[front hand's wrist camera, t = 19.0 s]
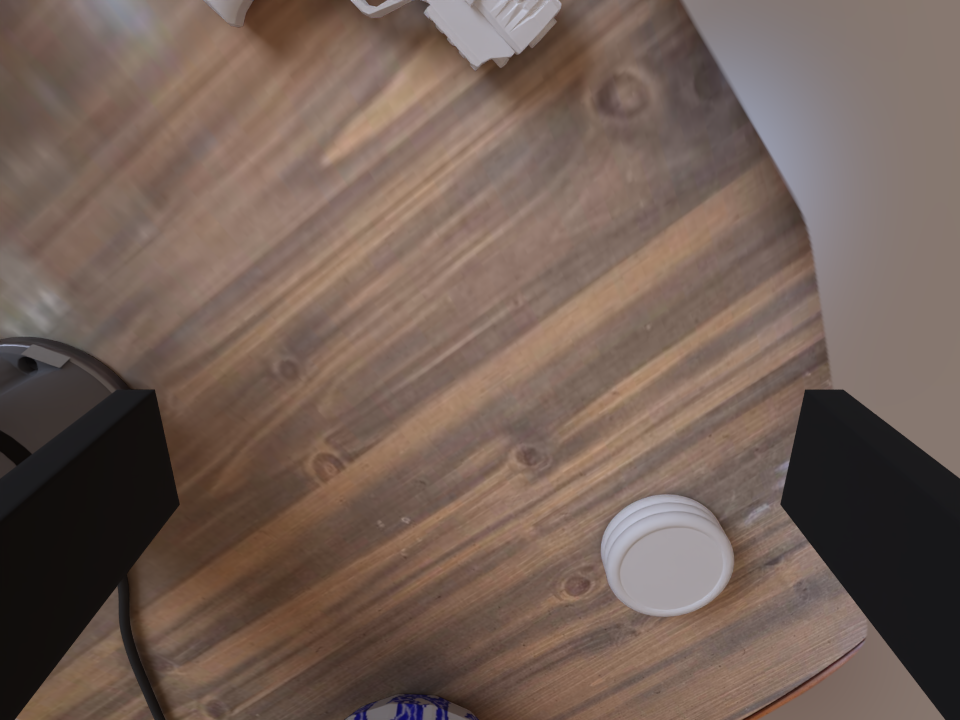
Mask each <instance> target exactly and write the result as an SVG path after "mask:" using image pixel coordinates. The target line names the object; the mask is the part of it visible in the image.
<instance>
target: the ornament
mask: <svg viewBox="0 0 960 720" xmlns="http://www.w3.org/2000/svg"><path fill="white" fill-rule="evenodd" d="M345 720H479V719H478V718H477V717H476V716H475V715H474V714H473V713H472V712H471V711H470V710H467V709H465V708H463V707H461V706H458V705H456V704H454V703H452V702H449V701H447V700H445V699H443V698H440V697H438V696H436V695H416V694H396V695H394V696H391V697H388V698H385V699H382V700H379V701H376V702H373V703H370V704H367V705H364V706H361V707H360V708H359V709H358V710H356V711H355V712H354V713H352V714H351V715H350V716H349V717H347V718H346V719H345Z"/></svg>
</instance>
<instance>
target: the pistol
mask: <svg viewBox="0 0 960 720" xmlns="http://www.w3.org/2000/svg"><path fill="white" fill-rule="evenodd" d="M203 1H204V2H205V3H207V4H208V5H209V6H210V7H211V8H212V9H213V10H214V11H215V12H216V13H217V14H218V15H220V16H221V17H222V18H223V19H224V20H225V21H226V22H227V23H228V24H229V25H230V26H234V27H238V28H239V27H243V25H244V20H245V15H246V12H247V10H248V9H249V7H250V5H251V4H252V2H253V1H254V0H203ZM351 1H352V2H353V4H354V5H355V6H356V7H357V8H358V9H359V10H360V11H361V12H362V13H363V14H365V15H366V16H368V17H370V18H381V17H383V16H385V15H387V14H389V13H391V12H393V11H394V10H396V9H398V8H400V7H402V6H404V5H405V4H407V3H409V2H411V1H413V0H387V1H385V2H384V3H382V4H380V5H379V6H377V7H376V6H371V5H369V4H368V3H367V2H366V0H351ZM422 1H424V2H426V3H428V4H430V5H429V6H428V7H427V8H426V10H425V12H424V14H425V15H426V16H427V17H428V19H430V20H431V21H432V20H433V21H434V23H435V24H436V28H437V29H438V30H439V31H440V32H441V33H442V34H443V33H444V34H445V35H446V36H447V37H448V38H447V40H448V41H449V42H450V43H451V45H453V46H454V45H455V46H456V47H457V49H458V50H459V54H460V55H461V56H462V57H463V58H464V59H465V58H466V59H467V60H468V61H469V62H470V63H471V64H470V66H471V67H472V68H473V69H474V70H475V71H476V70H477V69H478V68H479V67H480V66H481V65H482V64H484V63H485V62H487V61H489V60H491V59H492V60H493V61H494V62H495V63H496V64H497V65H498V66H499V67H500V68H502V67H503V66H505V65H506V63H507V62H508V60H509V58H511V57H512V56H513V55H514V53H515V54H516V55H518V54H520V53H521V52H522V51H523V50H524V49H525V48H526V47H527V46H528V45H529V46H530V47H531V48H533V47H534V46H535V45H536V44H537V43H538V42H539V41H540V40H541V39H542V38H543V37H544V36H545V35H546V33H547V32H548V31H549V30H550V29H551V28H552V27H553V26H554V25H555V23H556V22H557V21H556V20H555V18H554V17H555V16H556V15H557V14H558V12H559V11H560V9H561V2H560V1H559V0H422Z"/></svg>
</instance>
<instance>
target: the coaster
mask: <svg viewBox="0 0 960 720" xmlns="http://www.w3.org/2000/svg"><path fill="white" fill-rule="evenodd" d="M601 558H602V562H603V565H604V569H605V572H606V576H607V580H608V583H609V585H610V587H611V589H612V591H613V592H614V594H615V595H616V596H617V598H618V599H619V600H620V601H621V602H622V603H624V604H625V605H626V606H628V607H629V608H631V609H633V610H635V611H637V612H640V613H642V614H646V615H651V616H657V617H671V616H678V615H683V614H687V613H690V612H693V611H695V610H697V609H700V608H702V607H703V606H705V605H707V604H708V603H710V602H711V601H712V600H714V599H715V598H716V597H717V596H718V595H719V594H720V593H721V592H722V591H723V590H724V588H725V587H726V585H727V584H728V582H729V580H730V578H731V576H732V572H733V568H734V553H733V548H732V545H731V543H730V540H729V539H728V537H727V535H726V534H725V532H724V530H723V528H722V527H721V525H720V523H719V521H718V520H717V518H716V517H715V516H714V514H713V513H712V512H711V511H710V510H709V509H707V508H706V507H705V506H704V505H702V504H700V503H699V502H697V501H695V500H693V499H691V498H688V497H684V496H679V495H671V494H663V495H654V496H649V497H646V498H643V499H640V500H638V501H635V502H633V503H632V504H630V505H628V506H627V507H625V508H624V509H622V510H621V511H620V512H619V513H618V514H617V515H616V516H615V517H614V518H613V519H612V520H611V522H610V523H609V524H608V526H607V528H606V530H605V532H604V535H603V538H602V543H601Z"/></svg>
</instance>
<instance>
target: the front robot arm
mask: <svg viewBox="0 0 960 720" xmlns="http://www.w3.org/2000/svg"><path fill="white" fill-rule="evenodd" d="M179 505H180V504H179V499H178V495H177V490H176V485H175V481H174V476H173V472H172V467H171V462H170V458H169V453H168V448H167V444H166V439H165V435H164V430H163V425H162V421H161V416H160V411H159V407H158V402H157V398H156V393H155V390H130V389H129V388H128V386H127V385H126V384H125V383H124V382H123V381H122V380H121V379H120V378H119V377H118V376H117V375H116V374H115V373H114V372H113V371H112V370H110V369H109V368H108V367H107V366H105V365H104V364H103V363H101V362H100V361H98V360H97V359H95V358H94V357H92V356H90V355H88V354H87V353H85V352H83V351H81V350H78V349H76V348H74V347H72V346H69V345H66V344H63V343H60V342H57V341H53V340H48V339H43V338H35V337H13V338H6V339H1V340H0V720H15V719H16V717H17V716H18V715H19V713H20V712H21V711H22V709H23V708H24V707H25V706H26V704H27V703H28V702H29V700H30V699H31V698H32V696H33V695H34V694H35V693H36V691H37V690H38V689H39V687H40V686H41V685H42V683H43V682H44V681H45V679H46V678H47V677H48V676H49V674H50V673H51V672H52V670H53V669H54V668H55V666H56V665H57V664H58V663H59V661H60V660H61V659H62V657H63V656H64V655H65V653H66V652H67V651H68V649H69V648H70V647H71V646H72V644H73V643H74V642H75V640H76V639H77V638H78V636H79V635H80V634H81V632H82V631H83V630H84V629H85V627H86V626H87V625H88V623H89V622H90V621H91V619H92V618H93V617H94V616H95V614H96V613H97V612H98V610H99V609H100V608H101V606H102V605H103V604H104V602H105V601H106V600H107V599H108V597H109V596H110V595H111V593H112V592H113V591H114V589H115V588H116V587H117V586H118V594H119V623H120V630H121V635H122V639H123V643H124V646H125V649H126V653H127V656H128V658H129V661H130V664H131V666H132V669H133V671H134V674H135V676H136V678H137V681H138V683H139V685H140V688H141V690H142V692H143V695H144V697H145V699H146V701H147V704H148V706H149V708H150V711H151V713H152V715H153V717H154V719H155V720H165V717H164V715H163V713H162V711H161V709H160V706H159V704H158V702H157V699H156V697H155V695H154V692H153V690H152V688H151V685H150V683H149V681H148V678H147V676H146V673H145V671H144V669H143V666H142V664H141V661H140V658H139V656H138V653H137V650H136V646H135V643H134V640H133V636H132V631H131V626H130V617H129V585H128V579H127V575H126V574H127V572H128V571H129V570H130V569H131V567H132V566H133V565H134V563H135V562H136V561H137V559H138V558H139V557H140V556H141V554H142V553H143V552H144V550H145V549H146V548H147V546H148V545H149V544H150V542H151V541H152V540H153V539H154V537H155V536H156V535H157V533H158V532H159V531H160V529H161V528H162V527H163V526H164V524H165V523H166V522H167V520H168V519H169V518H170V516H171V515H172V514H173V512H174V511H175V510H176V509H177V507H178V506H179ZM780 505H781V506H782V507H783V509H784V510H785V511H786V512H787V514H788V515H789V516H790V518H791V519H792V520H793V522H794V523H795V524H796V526H797V527H798V528H799V529H800V531H801V532H802V533H803V535H804V536H805V537H806V539H807V540H808V541H809V542H810V544H811V545H812V546H813V548H814V549H815V550H816V552H817V553H818V554H819V556H820V557H821V558H822V559H823V561H824V562H825V563H826V565H827V566H828V567H829V569H830V570H831V571H832V572H833V574H834V575H835V576H836V578H837V579H838V580H839V582H840V583H841V584H842V586H843V587H844V588H845V589H846V591H847V592H848V593H849V595H850V596H851V597H852V599H853V600H854V601H855V602H856V604H857V605H858V606H859V608H860V609H861V610H862V612H863V613H864V614H865V616H866V617H867V618H868V619H869V621H870V622H871V623H872V625H873V626H874V627H875V629H876V630H877V631H878V632H879V634H880V635H881V636H882V638H883V639H884V640H885V641H886V643H887V644H888V646H889V647H890V648H891V649H892V651H893V652H894V653H895V655H896V656H897V657H898V659H899V660H900V661H901V663H902V664H903V665H904V666H905V668H906V669H907V670H908V672H909V673H910V674H911V676H912V677H913V678H914V679H915V681H916V682H917V683H918V685H919V686H920V687H921V689H922V690H923V691H924V692H925V694H926V695H927V696H928V698H929V699H930V700H931V702H932V703H933V704H934V705H935V707H936V708H937V709H938V711H939V712H940V713H941V715H942V716H943V717H944V719H945V720H960V478H958V477H957V476H956V475H954V474H953V473H952V472H950V471H949V470H948V469H946V468H945V467H944V466H943V465H941V464H940V463H939V462H937V461H936V460H935V459H933V458H932V457H931V456H929V455H928V454H927V453H926V452H924V451H923V450H922V449H920V448H919V447H918V446H916V445H915V444H914V443H912V442H911V441H910V440H908V439H907V438H906V437H905V436H903V435H902V434H901V433H899V432H898V431H897V430H895V429H894V428H893V427H891V426H890V425H889V424H888V423H886V422H885V421H884V420H882V419H881V418H880V417H878V416H877V415H876V414H874V413H873V412H872V411H870V410H869V409H868V408H866V407H865V406H864V405H863V404H861V403H860V402H859V401H857V400H856V399H855V398H853V397H852V396H851V395H849V394H848V393H847V392H846V391H844V390H805V393H804V398H803V402H802V407H801V411H800V416H799V421H798V425H797V430H796V435H795V439H794V444H793V448H792V453H791V458H790V462H789V467H788V472H787V476H786V481H785V485H784V490H783V495H782V499H781V504H780Z"/></svg>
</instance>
